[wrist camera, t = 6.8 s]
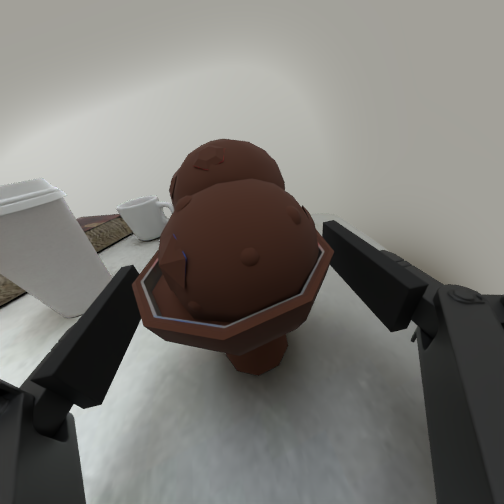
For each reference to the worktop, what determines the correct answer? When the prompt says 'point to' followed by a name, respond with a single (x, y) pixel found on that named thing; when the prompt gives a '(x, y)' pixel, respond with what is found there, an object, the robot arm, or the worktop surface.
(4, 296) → the hardback book
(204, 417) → the worktop surface
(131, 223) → the cup
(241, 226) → the ice cream bowl
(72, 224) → the coffee cup
